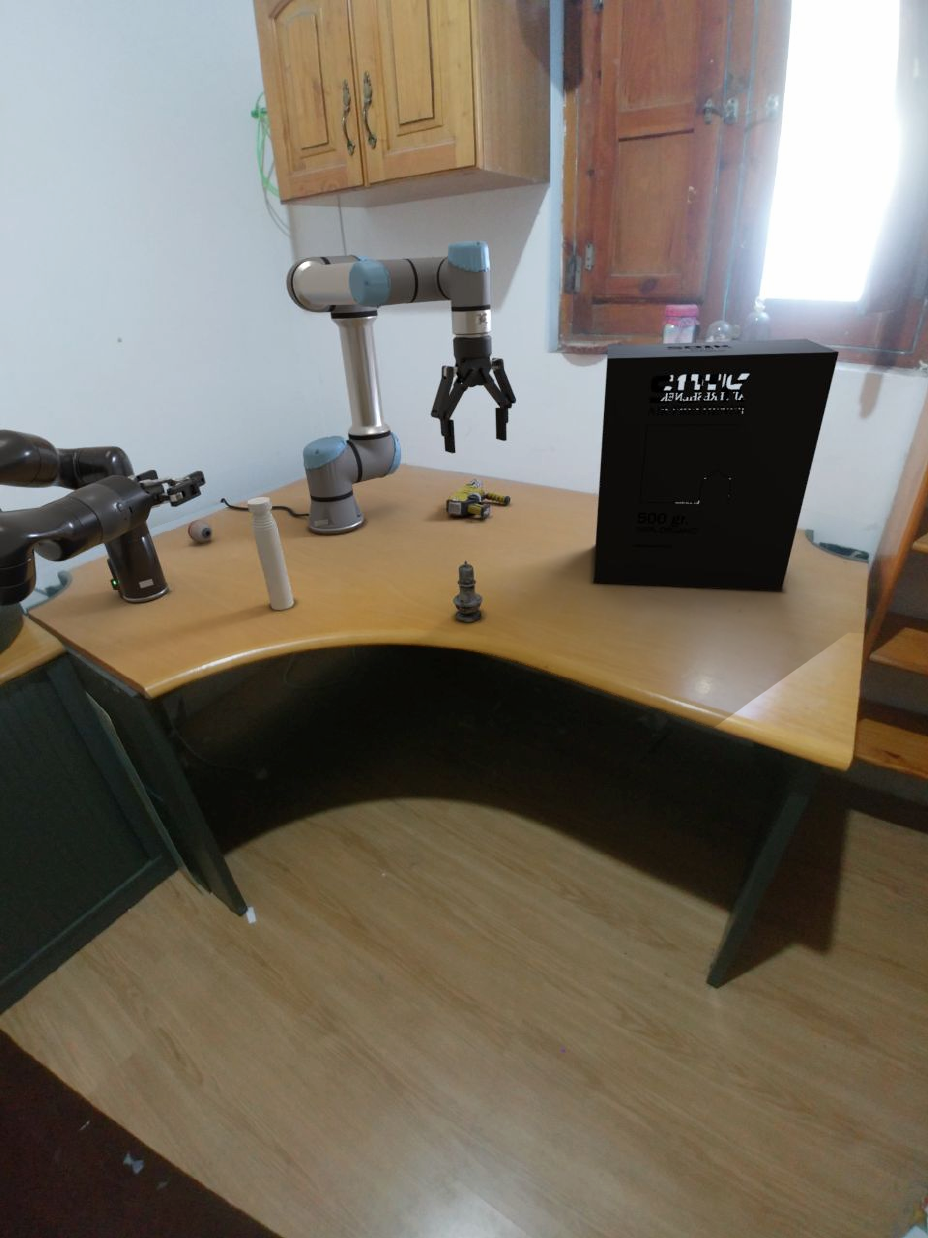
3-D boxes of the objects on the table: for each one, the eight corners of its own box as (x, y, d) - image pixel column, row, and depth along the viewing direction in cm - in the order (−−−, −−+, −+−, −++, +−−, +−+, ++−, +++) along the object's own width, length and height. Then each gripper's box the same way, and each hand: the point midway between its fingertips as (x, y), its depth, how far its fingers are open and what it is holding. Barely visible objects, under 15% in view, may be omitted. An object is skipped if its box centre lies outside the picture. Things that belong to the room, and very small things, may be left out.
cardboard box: (760, 550, 140) (805, 338, 118) (781, 591, 123) (838, 351, 101) (595, 545, 148) (608, 345, 125) (593, 582, 131) (607, 358, 108)
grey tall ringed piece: (480, 623, 118) (477, 567, 112) (451, 621, 119) (447, 566, 113) (485, 608, 123) (483, 554, 117) (457, 607, 124) (453, 553, 118)
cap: (269, 504, 121) (267, 495, 120) (274, 510, 118) (272, 501, 117) (247, 508, 120) (244, 499, 119) (251, 515, 116) (249, 506, 115)
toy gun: (518, 484, 183) (472, 477, 187) (496, 507, 163) (444, 499, 167) (517, 499, 185) (471, 492, 189) (494, 524, 165) (443, 515, 169)
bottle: (290, 597, 132) (268, 496, 121) (296, 606, 129) (274, 503, 117) (269, 603, 130) (244, 501, 119) (274, 612, 127) (249, 508, 115)
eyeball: (201, 547, 160) (195, 526, 157) (186, 543, 163) (180, 522, 160) (220, 539, 164) (214, 518, 161) (205, 536, 167) (199, 515, 164)
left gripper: (71, 534, 86) (148, 497, 99) (156, 538, 83) (224, 500, 96) (50, 482, 82) (133, 452, 96) (139, 485, 79) (212, 453, 93)
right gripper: (429, 342, 108) (437, 460, 118) (533, 329, 120) (532, 437, 131) (407, 340, 113) (417, 454, 124) (508, 328, 125) (510, 432, 136)
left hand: (178, 476), depth 96 cm, fingers open, 8 cm apart
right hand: (476, 445), depth 127 cm, fingers open, 13 cm apart
